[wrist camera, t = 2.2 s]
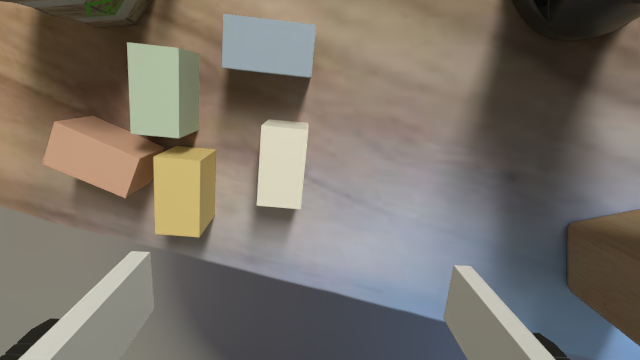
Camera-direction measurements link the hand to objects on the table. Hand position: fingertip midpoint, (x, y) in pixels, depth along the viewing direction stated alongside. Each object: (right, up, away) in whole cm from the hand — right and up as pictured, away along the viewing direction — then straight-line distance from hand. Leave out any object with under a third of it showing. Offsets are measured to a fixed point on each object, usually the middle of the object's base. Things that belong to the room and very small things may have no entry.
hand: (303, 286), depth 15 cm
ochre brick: (-14, +4, +25) cm, 28 cm away
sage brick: (-15, +14, +22) cm, 30 cm away
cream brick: (-3, +7, +24) cm, 25 cm away
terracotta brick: (-21, +8, +23) cm, 33 cm away
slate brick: (-4, +18, +21) cm, 28 cm away
